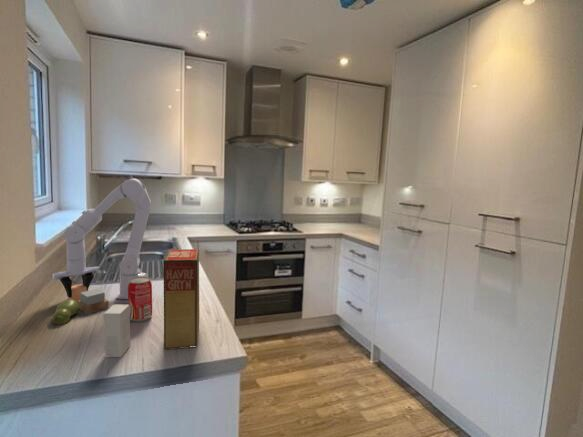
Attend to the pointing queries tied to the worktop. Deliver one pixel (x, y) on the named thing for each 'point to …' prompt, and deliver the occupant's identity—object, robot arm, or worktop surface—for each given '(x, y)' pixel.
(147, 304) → the soda can
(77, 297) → the terracotta cube
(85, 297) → the slate block
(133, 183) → the robot arm
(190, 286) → the food packaging
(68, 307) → the pear
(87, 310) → the walnut base
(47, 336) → the worktop surface
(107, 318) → the skincare box
